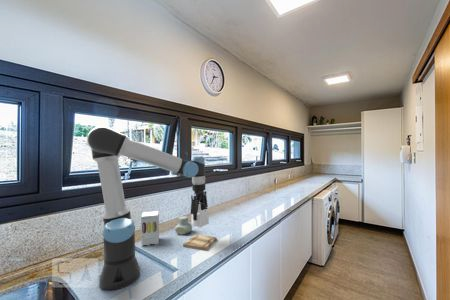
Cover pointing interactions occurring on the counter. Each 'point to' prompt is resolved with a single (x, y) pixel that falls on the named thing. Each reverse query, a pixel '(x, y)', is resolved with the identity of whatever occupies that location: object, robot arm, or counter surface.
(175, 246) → the counter surface
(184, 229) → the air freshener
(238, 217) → the counter surface
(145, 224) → the supplement box
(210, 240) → the trivet
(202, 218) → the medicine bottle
